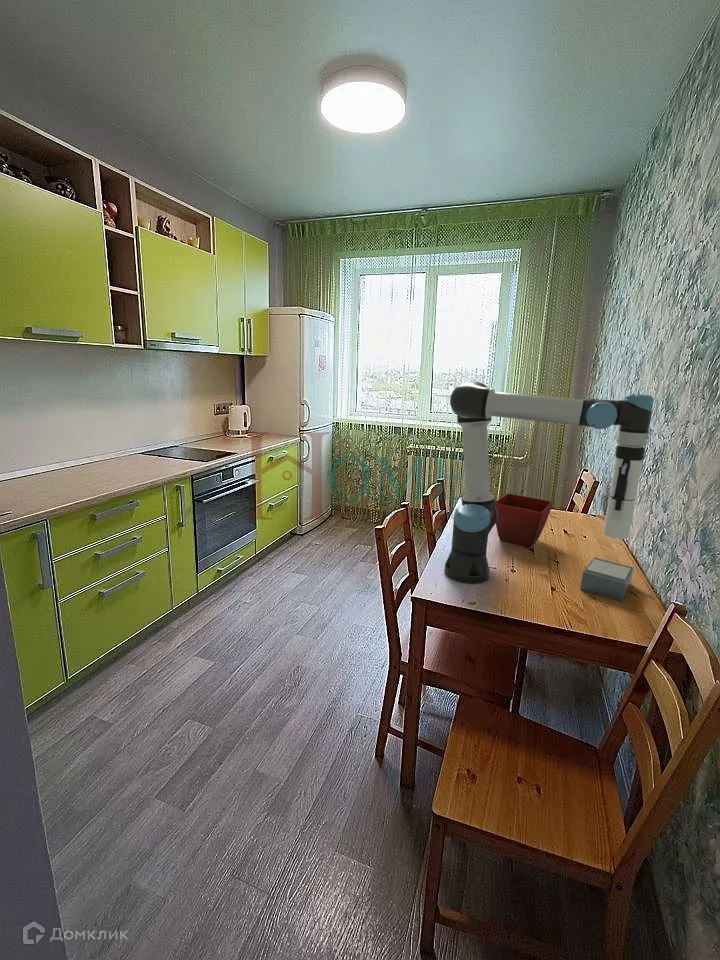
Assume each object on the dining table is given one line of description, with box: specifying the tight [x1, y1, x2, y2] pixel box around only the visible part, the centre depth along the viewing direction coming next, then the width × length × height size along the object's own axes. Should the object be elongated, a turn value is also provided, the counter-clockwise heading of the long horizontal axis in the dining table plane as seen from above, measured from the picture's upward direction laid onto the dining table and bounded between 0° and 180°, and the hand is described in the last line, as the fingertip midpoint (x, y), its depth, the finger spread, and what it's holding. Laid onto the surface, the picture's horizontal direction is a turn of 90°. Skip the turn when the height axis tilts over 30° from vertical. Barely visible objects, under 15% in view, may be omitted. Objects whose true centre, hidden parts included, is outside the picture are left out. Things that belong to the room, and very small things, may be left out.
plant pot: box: [495, 493, 553, 548], centre depth 184 cm, size 19×19×17 cm
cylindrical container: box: [602, 456, 643, 540], centre depth 140 cm, size 7×7×25 cm
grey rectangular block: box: [579, 557, 634, 603], centre depth 146 cm, size 16×12×6 cm
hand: (618, 516), depth 141 cm, fingers closed on cylindrical container, 7 cm apart
